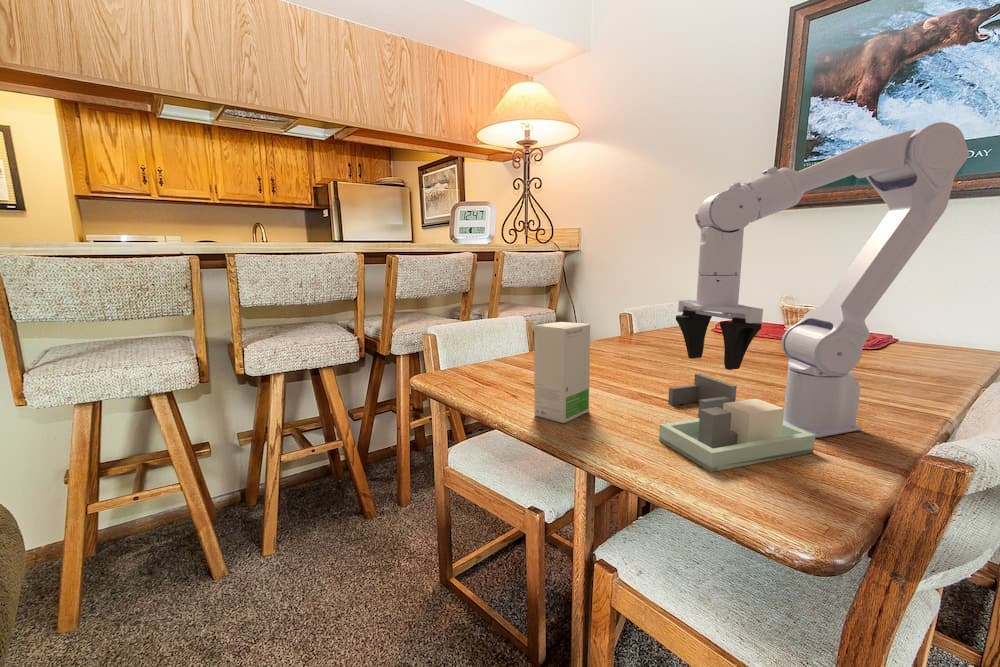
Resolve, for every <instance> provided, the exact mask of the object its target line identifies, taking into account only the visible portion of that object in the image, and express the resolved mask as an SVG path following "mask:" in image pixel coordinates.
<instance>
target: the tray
mask: <svg viewBox="0 0 1000 667" xmlns="http://www.w3.org/2000/svg"><path fill="white" fill-rule="evenodd" d="M658 432H659V437H658V441H659V442H661V443H662V442H663V443H662V444H664V445H666V446H667V447H669V448H671V449H672V450H673V451H676V452H677V453H679V454H680V455H682V456H683V457H686V458H687V459H688V460H691V461H692V462H694V463H695V464H697V465H699V466H700V467H701V468H704V469H705V470H707V471H708V472H710V473H713V472H718V471H724V470H729V469H734V468H735V469H736V468H739V467H745V466H749V465H754V464H760V463H767V462H771V461H775V460H776V459H777V460H782V459H786V458H791V456H792V457H795V456H796V455H797V456H802V455H801V454H803V455H807V453H808V454H811V453H812V452H813V453H814V450H815V442H816V437H815V435H814V434H812V433H809V432H807V431H804V430H801V429H799V428H796V427H794V426H791V425H788V424H786V423H783V427H782V437H777V438H772V439H766V440H760V441H754V442H748V443H743V444H734V445H729V446H725V447H719V448H714V449H712V448H711V447H709V446H707V445H705V444H703V443H701V442H699V441H698V433H699V418H693V419H686V420H680V421H673V422H666V423H660V424H659V431H658ZM797 456H796V457H797Z"/></svg>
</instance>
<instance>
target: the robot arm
mask: <svg viewBox="0 0 1000 667" xmlns="http://www.w3.org/2000/svg"><path fill="white" fill-rule="evenodd" d="M969 157H970V152H969V149H968V146H967V142H966V139H965V135H964V133H963V132H962V130H961V129H960V128H959V127H958V126H956V125H955V124H953V123H950V122H944V121H943V122H941V121H940V122H934V123H931V124H928V125H927V126H925V127H923V128H921V129H918V130H917V129H912V130H907V131H903V132H899V133H896V134H893V135H888V136H886V137H882V138H878V139H874V140H870V141H868V142H865V143H863V144H860V145H857V146H854V147H852V148H850V149H847V150H845V151H842V152H840V153H837V154H835V155H834V156H830V157H829V158H827V159H824V160H822V161H820V162H816V163H815V164H813V165H811V166H809V167H808V166H807V167H806V168H803V169H801V170H798V171H797V170H795V169H792V168H789V167H781V168H779V169H778V168H777V167H776V166H773V167H771V168H770V167H769V168H768V169H764V170H763V171H762V175H761V176H759V177H756V178H753V179H751V180H747V181H746V182H744V183H741V182H739V181H738V182H737V181H736V182H734V183H732V184H731V185H729V187H728V188H727V189H726V190H724V191H721V192H719V193H716V194H712V195H711V196H708V197H707V198H705V199H704V200H703V202H701V204H700V206H699V208H698V210H697V213H696V214H695V215H694V217H695V223H696V225H697V226H698V228H699V229H700V242H699V256H698V268H697V269H698V270H697V286H696V299H695V300H693V299H692V300H691V299H681V300H678V307H677V311H678V313H681V314H679V315H675V321H676V323H677V325H678V326H679V328H680V330H681V333H682V336H683V339H684V343H685V348H686V352H687V358H688V359H690V360H692V359H702V357H703V353H704V347H705V338H706V334H707V331H708V330H707V329H708V327H709V324H710V321H711V319H712V317H714V318H715V317H716V318H721V319H728V320H729V321H720V322H719V326H720V329H721V333H722V337H723V345H724V348H723V349H724V353H723V354H724V355H723V356H724V357H723V358H724V359H723V360H724V363H723V364H724V369H725V370H729V371H732V370H739V369H740V368H741V365H742V362H743V359H744V357H745V355H746V352H747V350H748V348H749V346H750V344H752V341H753V339H754V338H755V336H756V335H757V334H758V333H759V331H760V330H761V329H762V323H763V316H764V308H758V307H754V306H753V307H752V306H748V305H744V304H739V300H740V299H739V298H740V287H741V273H742V272H741V271H742V261H743V260H742V258H743V248H744V235H745V234H744V233H745V232H744V230H745V228H746V227H747V226H748V225H749V224H750V223H754V222H756V221H758V220H761V219H763V218H766V217H770V216H771V215H774V214H777V213H779V212H782V211H785V210H787V209H790V208H793V207H794V206H797V205H798V204H799V203H800V201H801V199H802V198H803V195H804V194H805V193H806V192H808V191H811V190H813V189H816V188H821V187H822V186H826V185H828V184H831V183H833V182H834V183H835V182H837V181H839V180H843V179H845V178H847V177H852V176H854V177H855V178H857V179H864V178H866V180H867V181H868V183H869V184H870V185H871V186H872V188H873V189H875V191H876V193H877V194H878V195H879V196H880V198H881V199H882V201H883V202H884V203H885V204H886V206H887V208H888V212H887V213H886V214H885V216H884V218H883V219H882V220H881V221H880V223H879V225H878V226H877V227H876V229H875V230H874V232H872V234H871V236H870V237H869V238H868V240H867V242H866V243H865V244H864V245H863V247H862V249H861V250H860V252H858V254H857V256H856V257H855V259H854V260H853V261H852V263H851V264H850V266H849V267H848V269H846V271H845V273H843V275H842V277H841V278H840V280H839V281H838V283H836V285H835V287H834V288H833V289H832V291H831V292H830V293H829V295H828V297H827V298H826V300H825V301H824V302H823V303H822V304H820V305H818V306H816V307H814V308H813V309H810V310H809V311H807V312H806V313H805V314H804V316H803V317H802V318H801V319H800V320H799V321H798V322H797V323H795V324H794V325H791V326H790V327H789V328H788V329H787V330H786V331H785V332H784V333H783V335H782V338H781V344H780V345H781V349H782V351H783V353H784V355H785V356H787V357H788V359H787V364H788V366H787V377H786V385H785V387H786V388H785V395H784V396H785V398H784V407H783V408H784V417H783V423H786V424H788V425H791V426H794V427H796V428H799V429H801V430H804V431H807V432H809V433H812V434H814V435H815V438H822V437H823V438H824V437H828V436H829V437H830V436H833V435H834V436H835V435H841V434H844V433H845V434H847V433H851V432H857V431H861V430H862V429H863V426H861V425H859V424H857V418H858V411H859V410H858V409H859V403H860V396H861V395H860V394H861V385H860V381H859V380H858V378H857V376H856V375H854V373H853V372H851V371H852V370H854V369H855V368H856V367H857V366H858V364H859V363H860V361H861V359H862V355H863V349H864V345H865V344H866V343H867V341H868V339H869V338H870V337H871V334H870V331H869V328H868V326H867V324H866V319H867V318H868V316H869V315H870V313H871V312H872V311H873V309H875V307H876V306H877V304H878V302H879V301H880V300H881V298H882V297H883V296H884V295H885V293H886V292H887V291H888V289H889V288H890V286H891V285H892V284H893V282H894V281H895V279H896V278H897V277H898V275H899V274H900V273H901V272H902V270H903V268H904V267H905V266H906V264H907V263H908V262H909V261H910V259H911V258H912V256H913V255H914V254H915V252H916V251H917V250H918V248H919V246H920V245H921V244H922V243H923V241H924V240H925V239H926V237H927V236H928V235H929V234H930V232H931V230H932V229H933V227H935V225H936V224H937V222H938V221H939V220H940V219H941V217H942V216H943V214H944V213H945V211H946V209H947V207H948V205H949V201H950V196H951V192H952V190H953V186H954V185H953V184H954V181H955V178H956V175H957V173H958V172H959V171H960V170H961V168H962V167H963V165H964V164H965V162H966V161H967V160H968V158H969Z"/></svg>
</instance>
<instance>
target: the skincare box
mask: <svg viewBox="0 0 1000 667" xmlns="http://www.w3.org/2000/svg"><path fill="white" fill-rule="evenodd" d="M533 335H534V336H533V338H534V342H533V345H534V346H533V349H534V350H533V353H534V354H533V356H534V358H533V360H534V361H533V363H534V364H533V368H534V371H533V372H534V373H533V375H534V385H533V386H534V388H533V390H534V394H533V395H534V396H533V397H534V399H533V400H534V404H533V406H534V407H533V412H534V414H533V415H534V416H535V417H539V418H542V419H545V420H549V421H553V422H556V423H560V424H565V423H568V422H570V421H572V420H575V419H577V418H578V417H581V416H583V415H585V414H587V413H590V378H591V377H590V376H591V375H590V374H591V373H590V372H591V371H590V369H591V368H590V366H591V363H590V362H591V360H590V359H591V356H590V355H591V324H590V323H585V322H584V323H583V322H569V321H558V322H557V321H556V322H549V323H547V322H546V323H541V324H535V325H534V326H533Z"/></svg>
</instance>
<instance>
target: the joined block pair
mask: <svg viewBox="0 0 1000 667" xmlns="http://www.w3.org/2000/svg"><path fill="white" fill-rule="evenodd" d="M783 417H784V407H781V406H778V405H775V404H773V403H770V402H768V401H764V400H761V399H760V398H759V399H758V398H750V399H743V400H738V401H737V400H735V402H728V403H723V409H721V408H719V407H714V408H707V409H700V418H699V417H698V419H699V433H698V441H699V442H701V443H703V444H705V445H707V446H709V447H711V448H712V449H714V448H719V447H725V446H729V445H734V444H743V443H748V442H754V441H760V440H766V439H772V438H777V437H782V427H783Z"/></svg>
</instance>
